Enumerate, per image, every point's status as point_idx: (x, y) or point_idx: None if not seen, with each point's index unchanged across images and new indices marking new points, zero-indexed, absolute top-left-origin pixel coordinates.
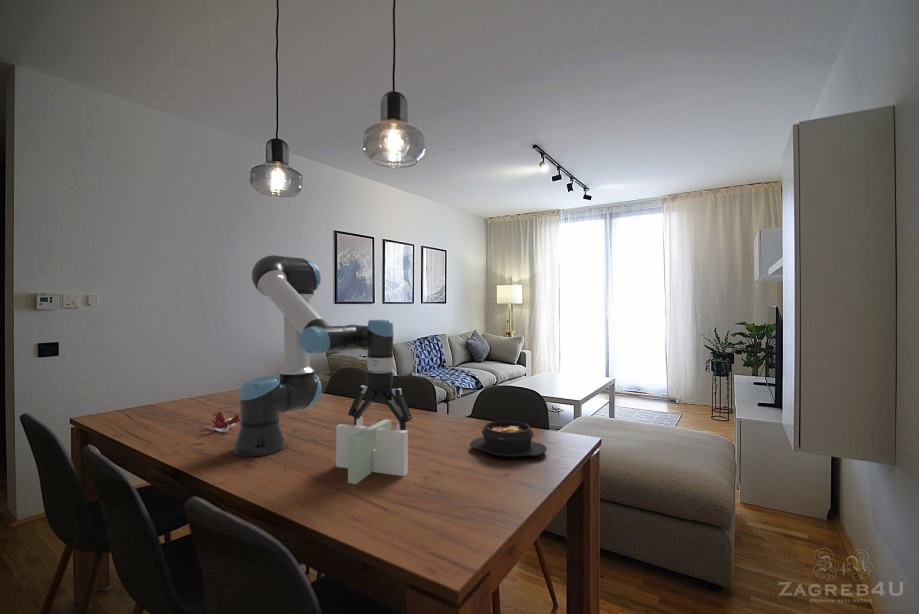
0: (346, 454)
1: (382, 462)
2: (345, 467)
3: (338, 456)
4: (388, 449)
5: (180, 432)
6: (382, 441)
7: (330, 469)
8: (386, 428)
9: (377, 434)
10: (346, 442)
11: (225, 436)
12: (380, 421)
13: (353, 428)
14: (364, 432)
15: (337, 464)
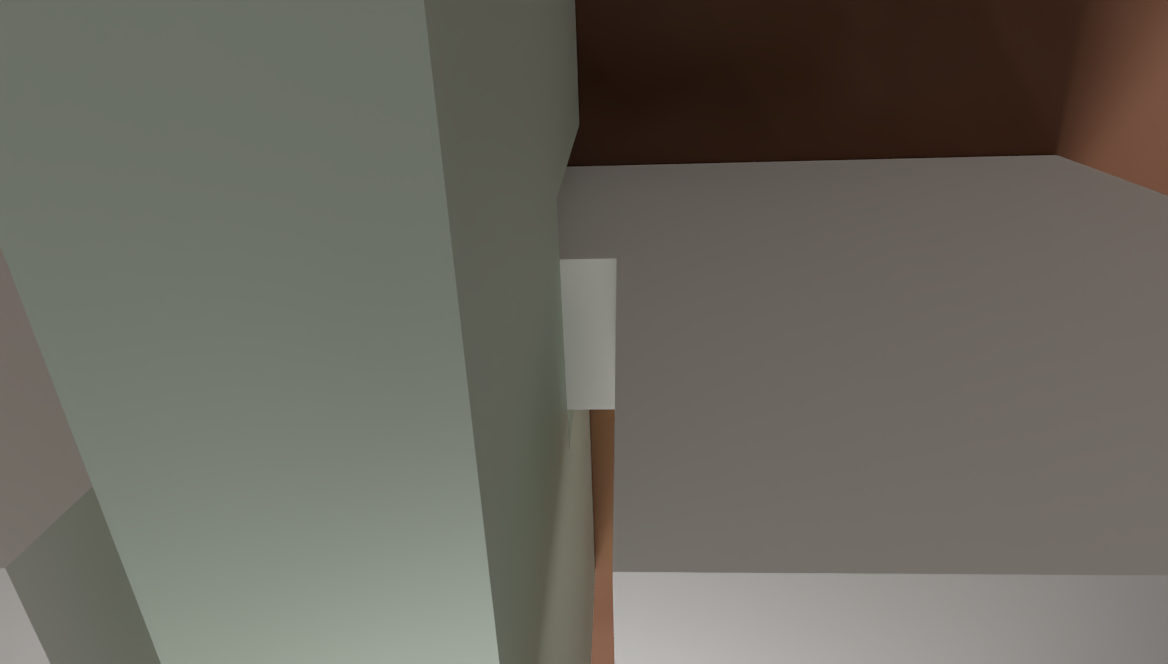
0: (967, 211)
1: None
2: (903, 161)
3: (1110, 191)
4: (1, 291)
5: None
6: (22, 360)
7: (1105, 38)
8: None
9: (42, 458)
10: (1098, 291)
11: None
12: None
13: (1119, 547)
14: (106, 52)
15: (1054, 161)
